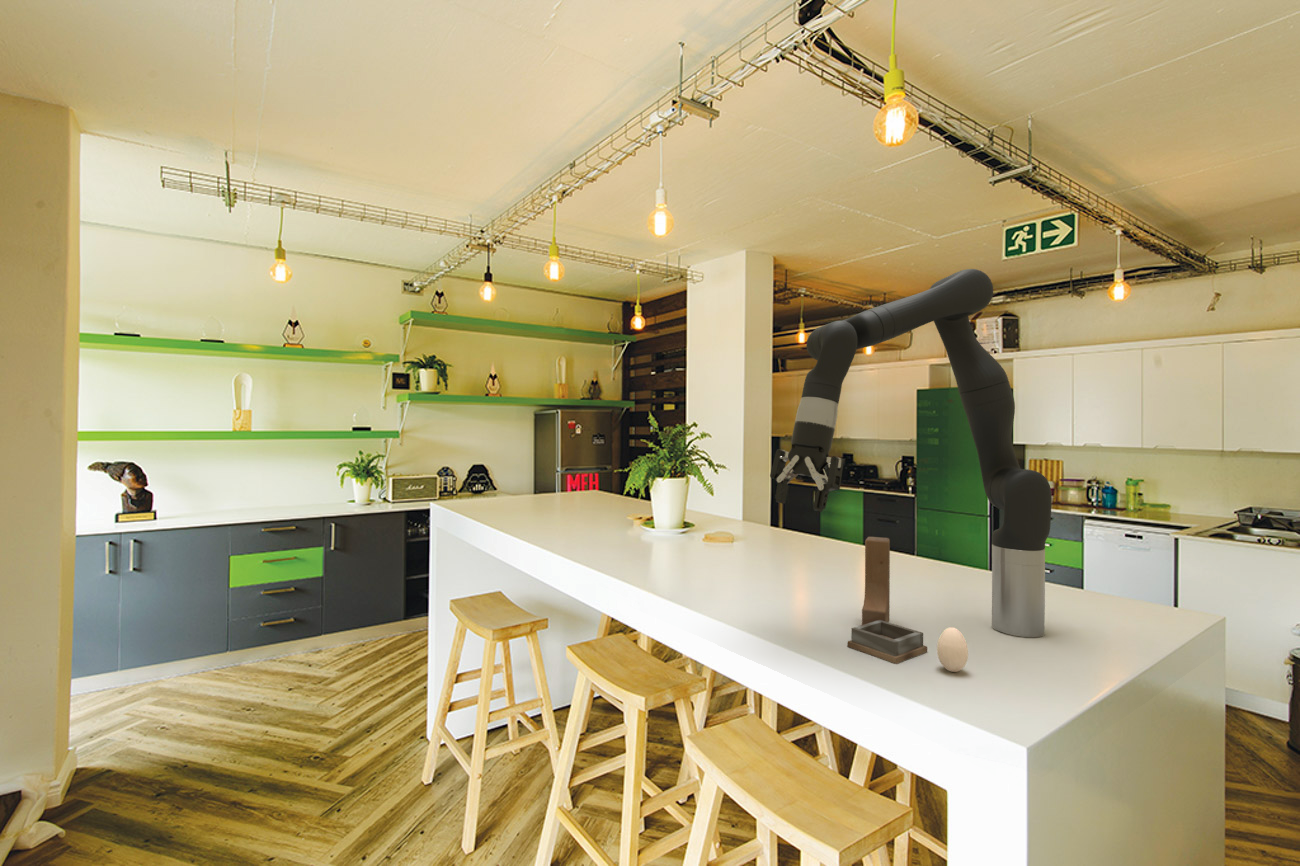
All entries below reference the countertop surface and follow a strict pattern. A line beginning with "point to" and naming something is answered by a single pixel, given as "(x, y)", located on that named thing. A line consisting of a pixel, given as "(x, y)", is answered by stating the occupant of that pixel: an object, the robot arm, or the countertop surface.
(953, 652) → the egg
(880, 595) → the wooden block
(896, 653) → the holder
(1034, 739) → the countertop surface
